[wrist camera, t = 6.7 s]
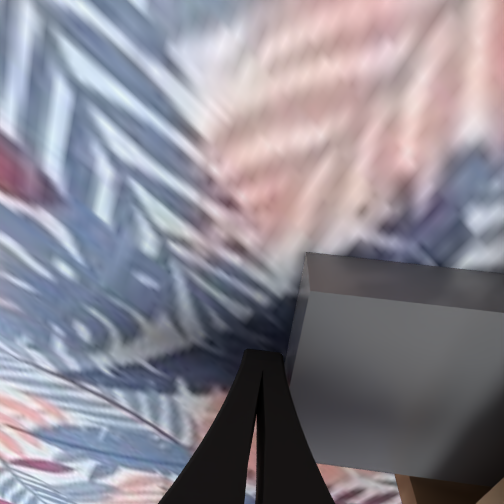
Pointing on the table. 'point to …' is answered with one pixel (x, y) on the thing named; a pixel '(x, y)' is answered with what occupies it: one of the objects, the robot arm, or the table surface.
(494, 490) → the oak overhang shelf
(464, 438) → the slate tile
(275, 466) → the robot arm
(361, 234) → the table surface
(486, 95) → the table surface
